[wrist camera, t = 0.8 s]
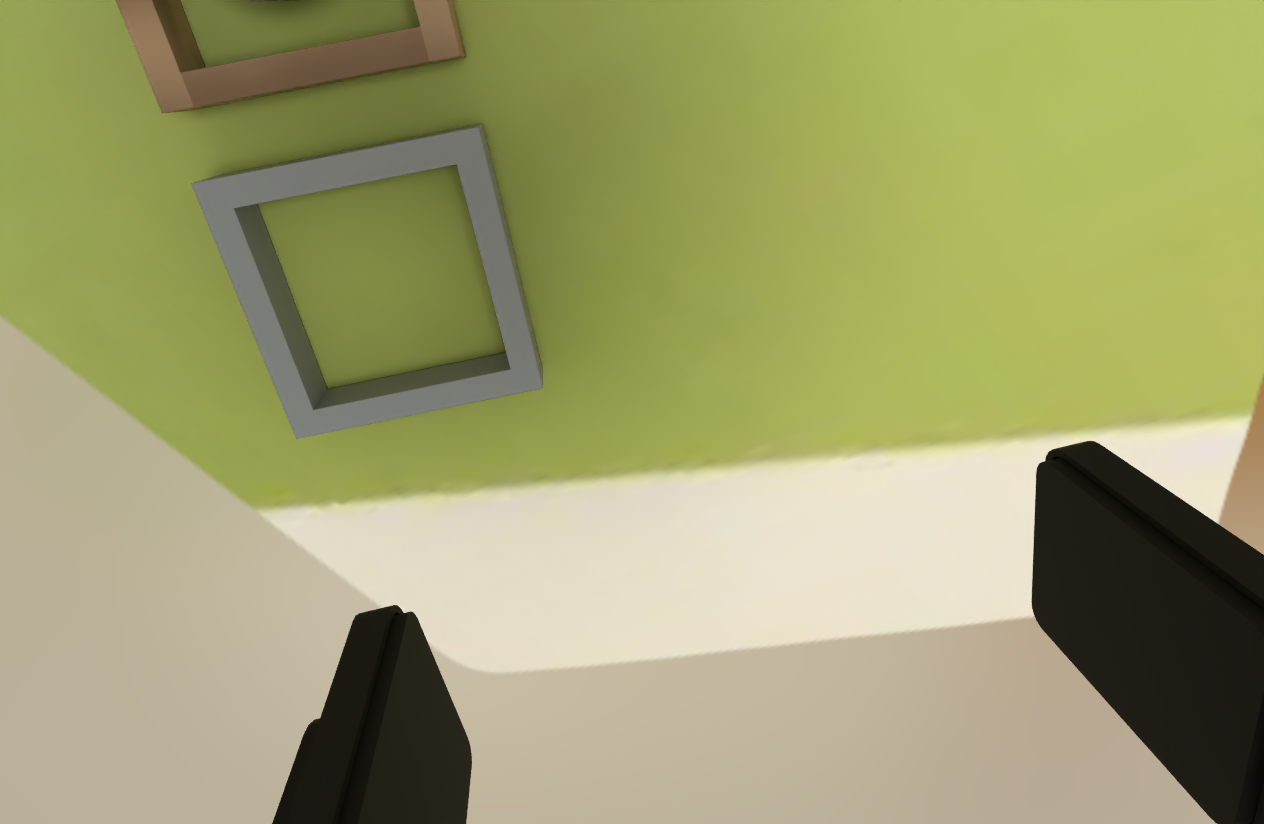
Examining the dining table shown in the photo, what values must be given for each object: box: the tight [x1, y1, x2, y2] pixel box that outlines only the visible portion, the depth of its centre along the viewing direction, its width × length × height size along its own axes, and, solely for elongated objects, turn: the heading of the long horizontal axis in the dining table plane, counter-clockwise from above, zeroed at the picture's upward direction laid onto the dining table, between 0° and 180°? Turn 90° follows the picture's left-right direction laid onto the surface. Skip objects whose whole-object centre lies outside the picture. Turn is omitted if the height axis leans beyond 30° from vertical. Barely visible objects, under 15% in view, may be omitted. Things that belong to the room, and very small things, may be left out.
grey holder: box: [191, 124, 543, 439], centre depth 33 cm, size 11×11×2 cm
